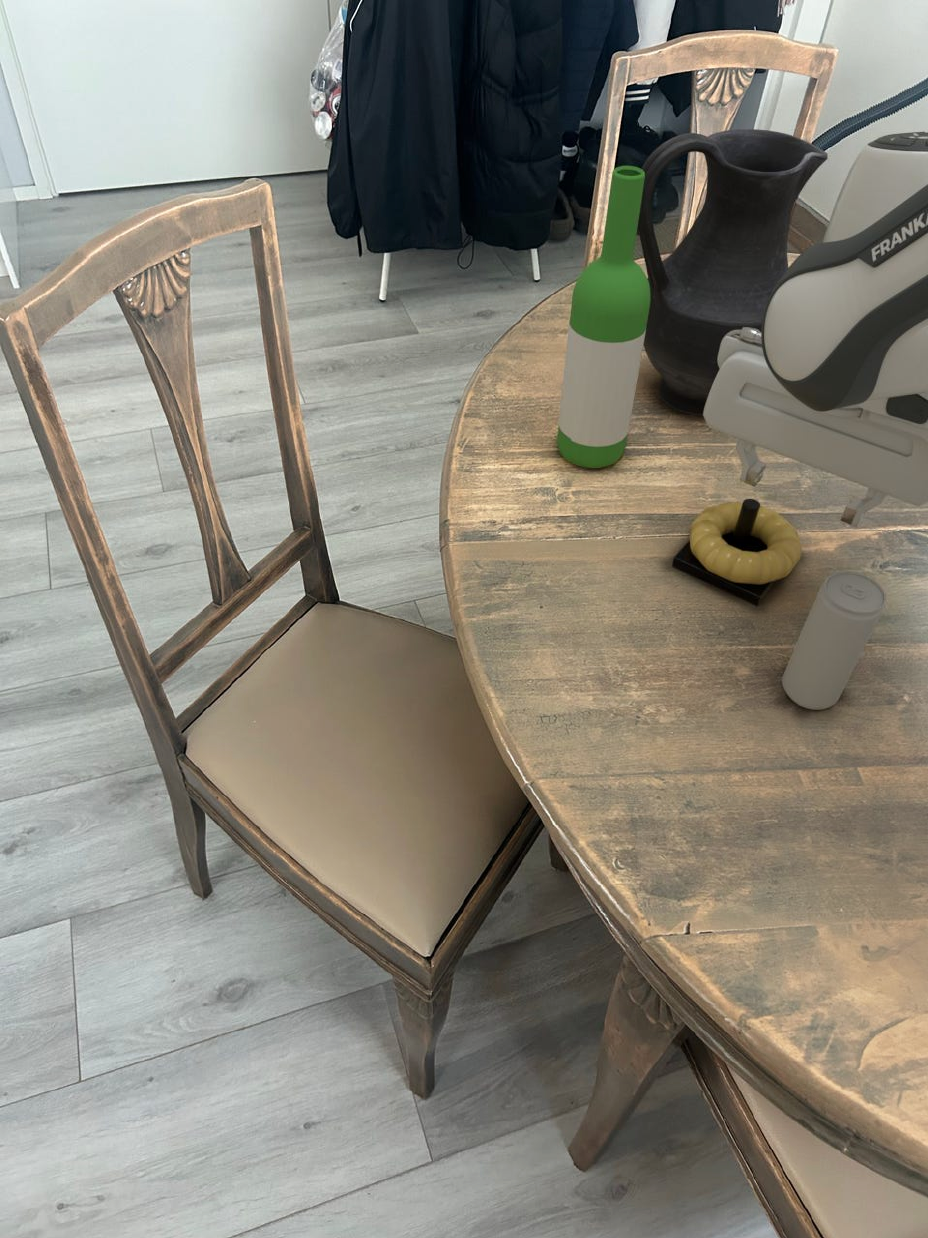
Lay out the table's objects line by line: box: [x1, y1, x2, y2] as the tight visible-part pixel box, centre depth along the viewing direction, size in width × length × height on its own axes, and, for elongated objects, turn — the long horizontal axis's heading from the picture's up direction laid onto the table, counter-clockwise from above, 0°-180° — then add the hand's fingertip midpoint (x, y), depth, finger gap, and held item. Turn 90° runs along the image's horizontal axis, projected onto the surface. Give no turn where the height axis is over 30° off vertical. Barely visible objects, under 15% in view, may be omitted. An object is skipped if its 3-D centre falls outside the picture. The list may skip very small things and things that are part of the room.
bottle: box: [556, 165, 650, 469], centre depth 89 cm, size 8×8×30 cm
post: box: [671, 498, 777, 606], centre depth 84 cm, size 9×9×7 cm
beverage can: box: [781, 570, 887, 711], centre depth 71 cm, size 5×5×12 cm
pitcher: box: [637, 128, 828, 416], centre depth 97 cm, size 17×21×30 cm
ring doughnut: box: [688, 501, 803, 584], centre depth 85 cm, size 10×10×3 cm
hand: (799, 500), depth 78 cm, fingers open, 8 cm apart
